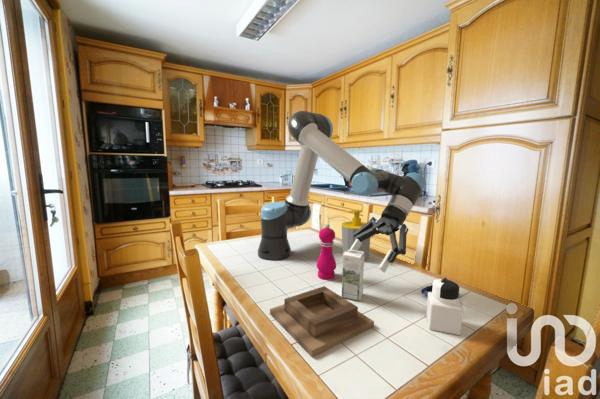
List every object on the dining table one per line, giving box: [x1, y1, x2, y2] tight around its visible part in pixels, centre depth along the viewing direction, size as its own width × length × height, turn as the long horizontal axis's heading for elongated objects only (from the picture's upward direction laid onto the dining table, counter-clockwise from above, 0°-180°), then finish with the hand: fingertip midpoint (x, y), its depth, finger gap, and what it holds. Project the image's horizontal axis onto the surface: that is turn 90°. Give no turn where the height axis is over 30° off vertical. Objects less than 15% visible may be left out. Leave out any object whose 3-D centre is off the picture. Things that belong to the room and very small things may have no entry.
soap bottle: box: [341, 209, 371, 261], centre depth 120 cm, size 13×13×21 cm
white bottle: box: [425, 278, 464, 336], centre depth 70 cm, size 7×7×12 cm
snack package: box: [420, 277, 461, 299], centre depth 84 cm, size 12×6×12 cm
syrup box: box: [341, 249, 365, 302], centre depth 85 cm, size 6×6×14 cm
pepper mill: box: [316, 223, 337, 281], centre depth 99 cm, size 7×7×20 cm
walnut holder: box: [269, 285, 375, 358], centre depth 73 cm, size 20×20×5 cm
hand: (364, 262), depth 86 cm, fingers open, 13 cm apart
